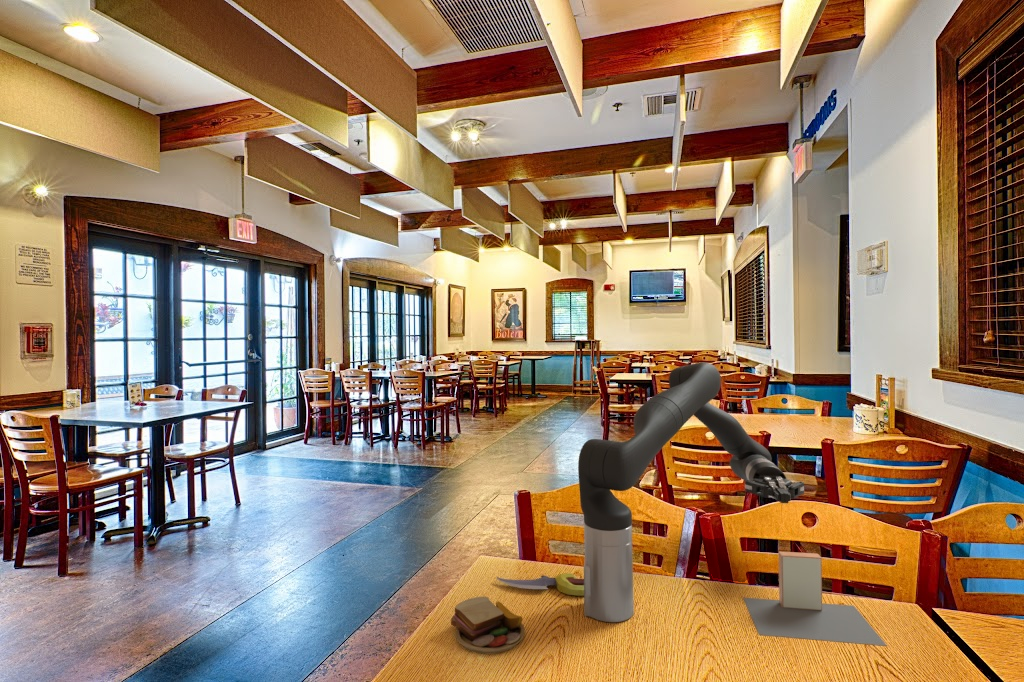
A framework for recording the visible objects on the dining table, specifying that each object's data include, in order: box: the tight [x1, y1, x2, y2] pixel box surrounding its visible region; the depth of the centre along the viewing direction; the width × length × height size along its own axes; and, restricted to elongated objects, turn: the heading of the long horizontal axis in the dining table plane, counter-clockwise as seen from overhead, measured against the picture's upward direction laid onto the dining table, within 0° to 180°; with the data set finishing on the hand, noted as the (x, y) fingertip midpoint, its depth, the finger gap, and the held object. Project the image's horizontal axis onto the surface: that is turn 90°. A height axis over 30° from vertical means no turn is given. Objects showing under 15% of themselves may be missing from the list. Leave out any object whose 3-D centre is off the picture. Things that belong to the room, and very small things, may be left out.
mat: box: [742, 597, 888, 647], centre depth 101 cm, size 20×14×1 cm
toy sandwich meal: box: [450, 596, 526, 655], centre depth 100 cm, size 12×14×5 cm
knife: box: [495, 572, 584, 597], centre depth 118 cm, size 8×3×25 cm
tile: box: [778, 550, 823, 610], centre depth 106 cm, size 7×2×10 cm, turn 78°
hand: (784, 498), depth 116 cm, fingers closed
